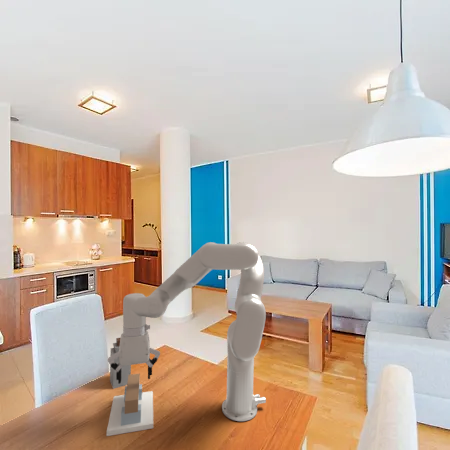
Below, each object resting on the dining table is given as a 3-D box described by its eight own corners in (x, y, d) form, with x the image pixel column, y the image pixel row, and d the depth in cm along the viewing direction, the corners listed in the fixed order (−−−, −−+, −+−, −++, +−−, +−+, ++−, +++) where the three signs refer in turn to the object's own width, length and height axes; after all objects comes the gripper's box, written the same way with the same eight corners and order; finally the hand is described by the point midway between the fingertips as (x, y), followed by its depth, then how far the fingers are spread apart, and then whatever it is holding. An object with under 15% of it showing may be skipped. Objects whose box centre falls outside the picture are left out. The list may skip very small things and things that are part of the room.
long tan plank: (139, 384, 103) (139, 373, 103) (137, 411, 87) (138, 399, 87) (128, 385, 102) (128, 374, 102) (124, 414, 86) (124, 401, 86)
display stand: (152, 394, 105) (153, 380, 105) (153, 428, 88) (153, 411, 88) (113, 400, 102) (114, 385, 102) (106, 436, 84) (107, 418, 84)
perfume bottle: (126, 376, 118) (127, 334, 118) (130, 383, 112) (131, 340, 113) (109, 380, 114) (110, 337, 115) (113, 388, 109) (114, 343, 109)
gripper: (159, 324, 101) (159, 370, 101) (109, 328, 96) (109, 377, 96) (160, 331, 94) (160, 381, 94) (106, 336, 89) (106, 389, 89)
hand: (134, 379), depth 95 cm, fingers open, 9 cm apart
